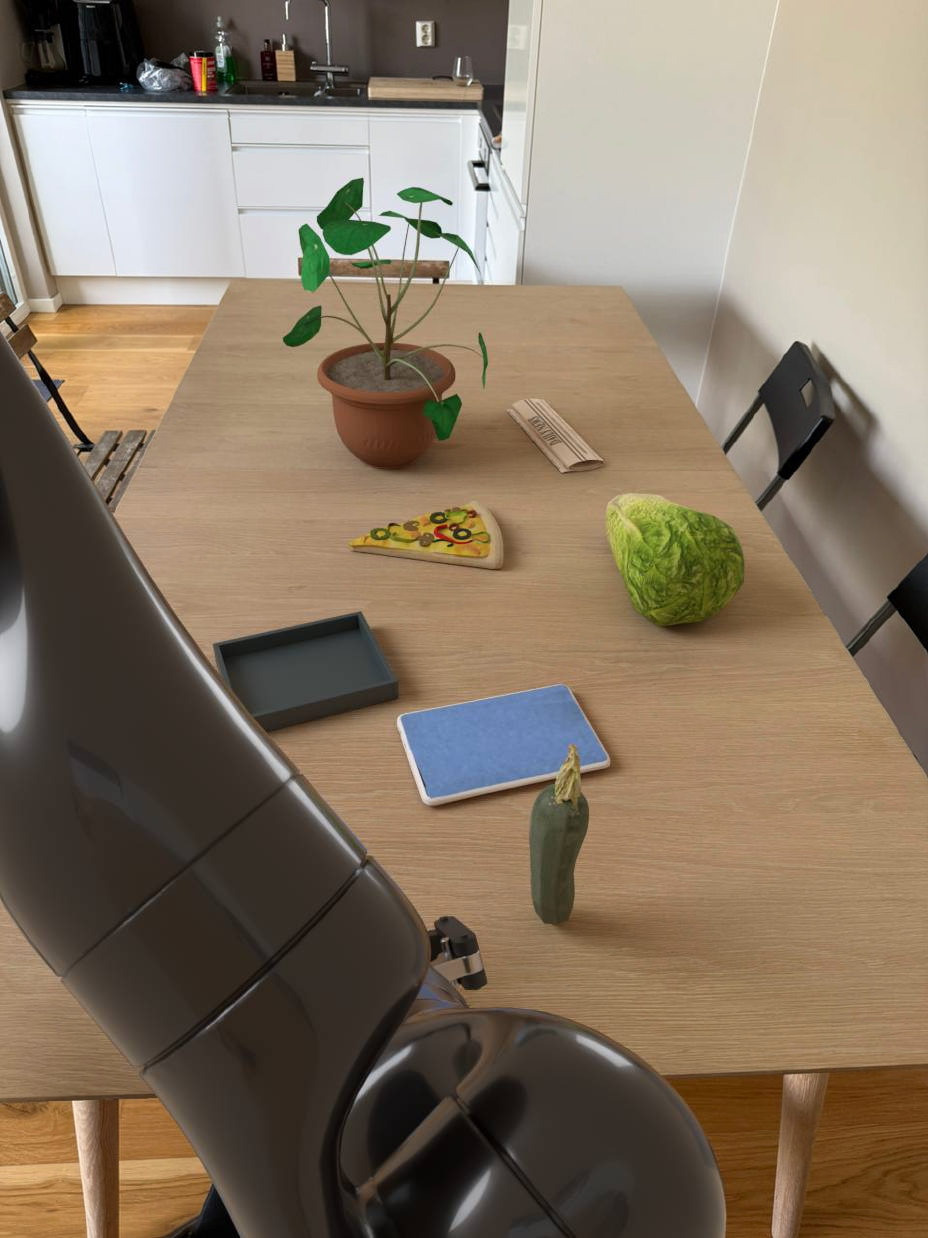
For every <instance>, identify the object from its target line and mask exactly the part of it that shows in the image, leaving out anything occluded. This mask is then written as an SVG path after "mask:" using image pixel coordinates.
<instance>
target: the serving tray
mask: <svg viewBox="0 0 928 1238" xmlns="http://www.w3.org/2000/svg"><path fill="white" fill-rule="evenodd" d="M212 649H213V653H214V659H215V663H216V667H217V671H218V673H219V674H220V676H221V677H222V678H223V680H224V681H225V682H226V683H227V685H228V686H229V687H230V688H231V690H232V691H233V692H234V694H235V695H236V696H237V697H238V699H239V700H240V701H241V702H242V704H243V705H244V706H245V708H246V709H247V710H248V711H249V713H250V714H251V715H252V716H253V718H254V719H255V720H256V721H257V722H258V723H259V725H260V726H261V727H262V728H263V729H264V730H265V731H266V733H268V732H272V731H276V730H279V729H284V728H288V727H291V726H295V725H299V724H303V723H307V722H312V721H315V720H319V719H323V718H326V717H330V716H335V715H338V714H342V713H347V712H350V711H354V710H358V709H362V708H367V707H369V706H373V705H378V704H381V703H386V702H389V701H393V700H397V699H399V698H400V697H399V696H400V695H399V680H398V679H397V678H398V677H397V676H396V674H395V673H394V670H393V669H392V667H391V665H390V663H389V661H388V659H387V657H386V655H385V652H383V650H382V647H381V646H380V644H379V641H378V639H377V638H376V636H375V634H374V632H373V630H372V629H371V627H370V625H369V622H368V621H367V619H366V617H365V616H364V613H363V612H362V611H361V610H359V611H355V612H351V613H346V614H341V615H336V616H332V617H328V618H324V619H323V618H322V619H318V620H315V621H309V622H306V623H305V622H304V623H301V624H296V625H291V626H287V627H283V628H282V627H281V628H278V629H273V630H268V631H264V632H260V633H255V634H250V635H246V636H241V637H236V638H232V639H228V640H223V641H219V642H213V643H212Z"/></svg>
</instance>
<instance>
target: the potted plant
mask: <svg viewBox="0 0 928 1238" xmlns="http://www.w3.org/2000/svg"><path fill="white" fill-rule="evenodd" d="M364 184H365V180H364V177H359V178H354V179H351V180H350V181H349V182H347V183H346V184H344V185H343V186H342V187H341V188H339V189H338V190H337V191H336V193H334V195H333V197H332V198H331V200H329V201H330V202H329V203H328V204H327V206H325V208H324V209H322V210H321V212H320V213H319V214H317V215H316V223H317V225H318V227H319V228H320V229H321V230H322V237H323V239H324V242H323V241H322V238H321V236H320V235H319V234H318V233H317V232H316V231H315V230H314V229H313V228H312V227H311V226H310V225H309V224H308V223H304V224H303V225H301V226H300V227H299V228H298V238H299V245H300V249H301V254H302V261H301V272H300V273H301V275H300V282H301V284H302V287H303V288H302V289H303V290H304V291H310V292H312V293H314V292H316V291H317V290H318V289H319V287H321V285H322V284H323V283H324V281H325V280H326V279H327V278H328V277H329V278H330V280H331V281H332V283H333V284H334V286H335V288H336V290H337V292H338V293H339V295H340V298H341V299H342V301H343V303H344V305H345V307H346V309H347V310H348V312H349V314H350V315H351V317H352V319H353V321H354V322H355V323H356V324H354V323H352V322H351V321H349V320H347V319H344V318H342V317H339V316H335V315H322V311H323V310H322V305H321V304H320V305H317V306H314V307H312V308H311V309H310V310H308V311H307V312H306V313H305V314H304V315H302V316H301V317H300V318H299V319H298V320H297V322H296V323H295V324H294V326H293V328H292V329H291V331H289V332H288V333H287V334H286V335H284V336H283V337H282V342H283V344H284V345H285V346H286V347H290V348H297V347H300V346H303V345H305V344H306V343H308V342H309V341H310V340H312V339H313V338H315V337H316V335H317V334H318V333H319V332H320V330H321V327H322V319H323V318H330V319H335V320H339V321H342V322H344V323H346V324H348V325H349V326H351V327H352V328H354V329H356V330H357V332H359V333H360V334H361V335H362V336H363V337H364V338H365V339H366V341H367V342H368V343H362V344H356V345H352V346H349V347H345V348H341V349H339V350H336V351H334V352H333V353H331V354H329V355H327V356H326V357H325V358H324V359H323V360H322V361H321V362H320V364H319V366H318V368H317V372H316V377H317V381H318V383H319V385H320V386H321V387H322V388H323V390H325V391H327V392H328V393H330V394H331V399H332V400H331V401H332V412H333V419H334V424H335V428H336V431H337V434H338V436H339V438H340V440H341V442H342V444H343V445H344V447H345V448H346V449H347V450H348V452H350V453H351V454H352V455H353V456H354V457H356V458H357V459H358V460H360V462H361V463H363V464H364V465H366V466H369V467H371V468H376V469H382V470H395V469H400V468H402V469H403V468H405V467H408V466H410V465H413V464H414V463H417V461H418V460H419V459H420V458H421V457H423V456H424V455H425V454H426V453H427V452H428V451H429V450H430V448H431V447H432V445H433V444H434V442H435V441H436V438H437V441H438V442H440V441H441V442H442V441H445V440H448V439H450V437H451V435H452V431H453V430H454V428H455V425H456V423H457V419H458V416H459V414H460V412H461V409H462V406H463V402H462V400H461V398H460V396H459V395H458V393H455V394H453V395H450V396H448V397H446V398H443V394H444V393H445V392H446V391H447V390H449V389H450V388H451V387H452V386H453V385H454V383H455V381H456V376H457V375H456V368H455V366H454V364H453V363H452V361H451V360H450V359H448V357H446V356H445V355H443V354H441V353H439V352H438V351H435V350H434V349H433V348H440V347H454V348H455V347H456V348H462V349H466V350H470V351H472V352H474V353H475V354H477V355H478V356H480V357H481V358H482V360H483V361H482V362H483V369H482V376H481V382H482V389H483V390H484V389H485V388H486V376H487V375H486V374H487V368H488V366H489V358H488V352H487V351H488V350H487V346H486V343H485V340H484V338H483V334H482V332H478V337H477V338H478V344H479V347H480V349H481V354H482V355H481V354H480V353H478V352H477V351H475V350H474V349H472V348H470V347H466V346H463V345H458V344H451V343H442V344H433V345H428V346H427V345H426V346H421V345H417V344H410V343H402V342H396V341H398V340H399V339H401V338H403V337H404V336H406V335H407V334H408V333H409V332H411V331H412V330H413V329H414V328H415V327H417V326H418V325H419V324H420V323H421V322H422V321H423V320H424V319H425V318H426V317H427V315H428V314H430V312H431V310H432V309H433V308H434V306H435V305H436V303H437V301H438V299H439V297H440V295H441V293H442V291H443V288H444V285H445V283H446V280H447V278H448V275H449V273H450V271H451V269H452V266H453V264H454V261H455V259H456V256H457V254H458V251H459V248H460V249H461V250H463V251H464V252H466V253H467V254H468V256H469V257H470V259H471V261H472V262H473V264H474V265H475V267H476V269H477V271H478V272H479V274H480V275H482V274H481V271H480V269H479V266H478V263H477V262H476V259H475V256H474V253H473V251H472V250H471V248H470V246H469V245H468V244H467V243H466V242H465V240H463V238H462V237H460V235H459V234H456V233H450V232H443V230H442V227H441V225H440V224H439V223H438V222H437V221H434V220H429V219H422V210H423V203H429V202H434V201H438V200H440V201H442V202H443V203H445V204H446V205H447V206H451V207H453V204H454V202H453V201H451V200H450V199H448V198H445V197H443V196H441V195H438V194H437V193H434V192H432V191H429V190H427V189H425V188H423V187H420V186H419V187H416V186H412V187H408V188H404V189H402V190H400V191H398V192H397V193H396V195H397V196H398V197H399V198H400V199H401V200H402V201H404V202H408V203H412V204H419V207H418V208H419V209H418V218H411V217H407V216H405V215H403V214H401V213H398V212H395V211H392V210H387V211H383V212H382V213H380V214H379V215H377V216H379V217H390V218H400V219H404V220H405V222H407V223H408V224H407V227H406V234H405V238H404V245H403V250H402V257H401V258H402V259H401V264H400V265H401V266H400V275H399V284H398V289H397V295H396V300H395V302H394V303H393V304H392V301H391V300H392V299H391V298H392V297H391V294H390V293H389V294H388V293H387V289H386V286H385V281H384V277H383V276H384V275H383V269H382V265H391V264H392V260H391V259H382V260H380V259H379V256H378V252H377V250H376V246H375V245H374V244H376V243H377V242H379V241H380V239H382V238H384V237H385V235H387V234H388V233H390V231H391V229H392V227H391V226H390V225H389V224H385V223H380V222H377V221H369V220H362V219H361V217H360V216H359V214H358V213H357V212H358V211H359V210H360V209H362V207H363V205H364V204H363V201H364V187H365V186H364ZM354 215H355V216H356V217H357V219H351V218H352V217H353V216H354ZM410 226H411V227H412V228H413V229H414V230H416V231H417V232H416V242H415V243H416V244H415V252H414V257H413V258H414V259H413V262H412V266H411V269H410V273H409V276H408V277H407V280H406V282H405V285H404V286H403V289H402V280H403V270H404V261H405V254H406V246H407V241H408V239H407V238H408V235H409V229H410ZM421 235H423V236H424V237H426V238H429V239H441V238H442V239H444V240H446V241H447V242H449V243H451V244H453V245H454V246H456V247H457V249H456V251H455V253H454V256H453V258H452V260H451V263H450V265H449V267H448V269H447V271H446V274H445V276H444V279H443V281H442V283H441V286H440V288H439V290H438V292H437V294H436V296H435V298H434V300H433V302H432V303H431V305H430V306H429V307H428V308H427V310H426V311H425V312H424V313H423V315H421V316H420V318H418V319H417V320H416V321H415V322H414V323H412V324H411V325H410V326H409V327H407V328H406V329H405V330H403V331H402V332H400V333H399V334H397V335H396V336H394V335H395V328H396V321H397V316H398V315H397V314H398V307H399V305H400V303H402V300H403V298H404V297H405V295H406V293H407V291H408V289H409V287H410V285H411V282H412V280H413V277H414V274H415V271H416V267H417V263H418V259H419V252H420V251H419V250H420V244H421V243H420V242H421V241H420V240H421ZM324 243H326V244H327V245H328V246H329V247H330V248H331V250H333V251H334V252H335V253H336V254H339V255H342V256H353V255H355V254H358V253H361V252H362V251H366V250H367V252H368V255H369V258H370V261H369V260H367V261H361V262H351V263H350V264H351V265H352V266H353V267H356V268H359V269H364V270H365V269H371V268H372V269H373V273H374V278H375V282H376V288H377V294H378V299H379V306H380V312H381V315H382V319H383V322H384V325H385V338H384V342H373V341H372V339H371V337H370V336H369V335H368V333H367V332H366V331H365V329H364V328H363V327H362V326H361V324H360V322H359V320H358V319H357V317H356V316H355V314H354V312H353V311H352V310H351V308H350V306H349V304H348V303H347V301H346V299H345V297H344V295H343V294H342V291H341V289H339V288H340V287H339V286H338V285H337V283H336V281H335V280H334V278H333V277H332V275H331V273H330V269H331V261H330V255H329V253H328V251H327V249H326V247H325V245H324ZM371 248H372V250H373V253H374V256H375V259H376V260H374V258H373V253H372V251H371ZM381 264H382V265H381ZM376 266H377V267H378V271H377V269H376ZM378 272H379V275H378ZM379 276H380V280H379ZM380 283H381V285H380ZM381 286H382V289H383V293H384V296H385V298H386V305H387V306H386V307H385V305H384V301H383V295H382V291H381ZM401 289H402V290H401ZM385 308H386V309H385ZM392 315H393V317H392Z"/></svg>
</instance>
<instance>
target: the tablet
mask: <svg viewBox="0 0 928 1238" xmlns="http://www.w3.org/2000/svg"><path fill="white" fill-rule="evenodd" d="M396 726H397V730H398V733H399V734H400V740H401V743H402V746H403V748H404V751H405V754H406V757H407V760H408V764H409V767H410V769H411V772H412V776H413V778H414V781H415V783H416V786H417V789H418V793H419V794H420V798H421V800H422V802H423V804H425V806H428V807H437V806H440V805H444V804H448V803H452V802H457V801H461V800H465V799H469V798H473V797H477V796H482V795H486V794H490V793H495V792H499V791H504V790H510V789H514V788H517V787H524V786H528V785H532V784H533V785H534V784H538V783H541V782H542V783H543V782H547V781H550V780H556V777H557V774H558V772H559V771H560V768H561V766H562V763H563V762H564V761H565V760H566V759H567V758H568V757H569V755H568V753H569V750H570V748H569V747H568V746H569V745H570V744H572V745H575V746H576V747H577V751H578V756H579V758H580V761H579V762H580V774H585V773H587V772H589V773H590V772H593V771H598V770H604V769H607V768H609V767H610V766H611V757H610V755H609V753H608V751H607V750H606V749H605V747H604V745H603V743H602V742H601V740H600V738H599V736H598V735H597V733H596V731H595V730H594V728H593V726H592V724H591V722H590V721H589V719H588V718H587V716H586V714H585V713H584V711H583V709H582V707H581V705H580V703H579V702H578V700H577V698H576V696H575V695H574V693H573V692H572V689H571V688H570V687H569V686H568V685H566V684H564V683H558V684H552V685H547V686H542V687H537V688H532V689H528V690H522V691H517V692H511V693H506V694H501V695H496V696H490V697H484V698H480V699H475V700H470V701H463V702H459V703H453V704H447V705H444V706H443V705H442V706H438V707H437V706H436V707H433V708H428V709H422V710H417V711H416V710H415V711H410V712H406V713H402V714H400V715H399V716H398V717H397V720H396Z"/></svg>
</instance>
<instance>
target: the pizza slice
mask: <svg viewBox="0 0 928 1238" xmlns="http://www.w3.org/2000/svg"><path fill="white" fill-rule="evenodd" d="M347 544H348V546H349V549H350V551H352V552H359V553H366V554H375V555H381V556H382V555H383V556H389V557H396V558H403V559H411V560H419V561H426V562H427V561H429V562H434V563H435V562H437V563H444V564H450V565H459V566H467V567H475V568H481V569H482V568H483V569H490V570H499V569H501V568H502V567H503V564H504V540H503V536H502V531H501V529H500V526H499V524H498V522H497V520H496V519H495V517H494V516H493V515H492V513H491V512H490V511H489V510H488V509H487V508H486V507H485V505H484V504H482V503H481V502H480V501H477V500H471V501H470V502H468V503H466V504H465V505H460V506H453V507H451V508H446V509H444V510H441V511H435V512H430V513H427V514H424V515H421V516H417V517H415V518H412V519H409V520H407V521H405V522H402V523H401V522H400V523H396V522H390V523H388V525H387V526H385V527H384V526H383V527H375V528H373V529H371V530H370V531H369V533H367V534H363V535H362V536H360V537H358V538H355V539H354V540H351V541H349V542H348V543H347Z"/></svg>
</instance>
